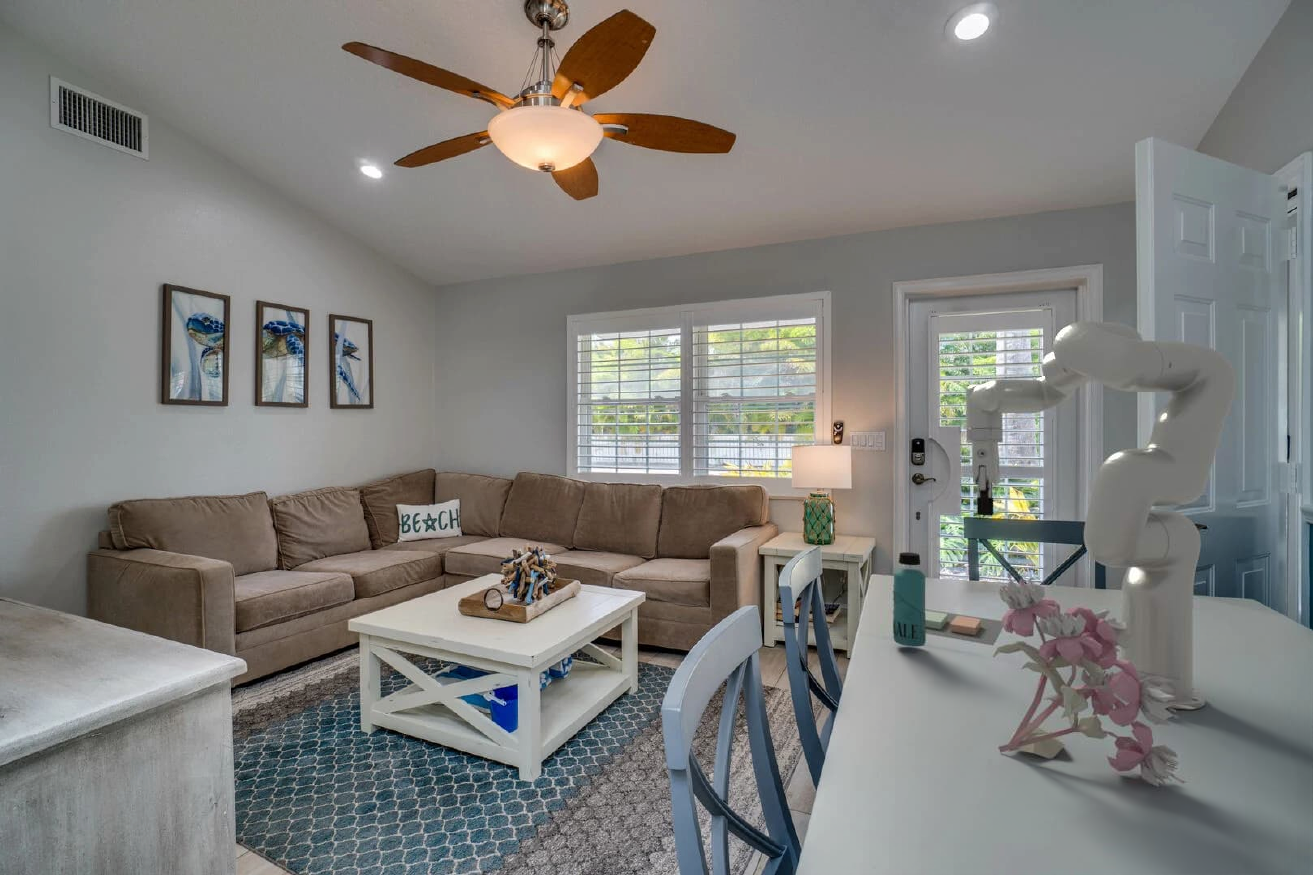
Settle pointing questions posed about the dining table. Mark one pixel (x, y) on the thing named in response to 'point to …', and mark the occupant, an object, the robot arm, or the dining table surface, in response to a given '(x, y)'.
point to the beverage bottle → (909, 603)
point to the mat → (984, 634)
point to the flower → (1086, 682)
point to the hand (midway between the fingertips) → (985, 514)
